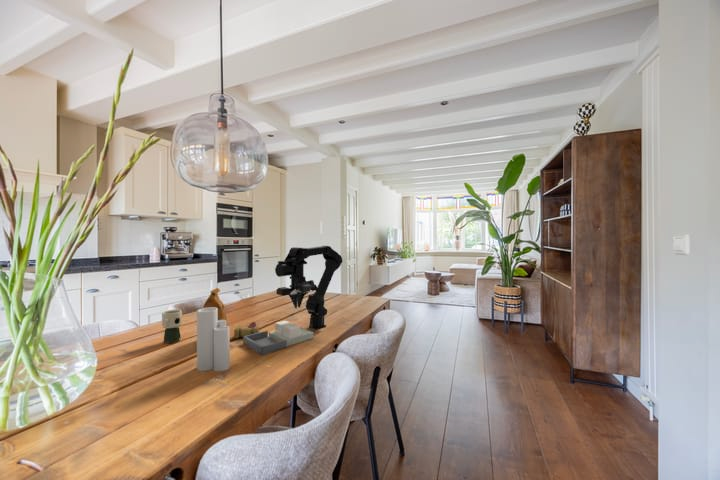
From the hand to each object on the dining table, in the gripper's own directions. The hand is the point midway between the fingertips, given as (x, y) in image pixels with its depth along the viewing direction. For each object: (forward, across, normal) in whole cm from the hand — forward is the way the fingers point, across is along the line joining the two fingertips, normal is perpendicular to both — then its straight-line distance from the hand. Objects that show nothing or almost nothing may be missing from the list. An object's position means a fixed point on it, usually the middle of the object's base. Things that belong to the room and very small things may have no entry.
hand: (297, 307), depth 136 cm
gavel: (+13, -14, +19) cm, 27 cm away
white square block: (+10, -8, 0) cm, 12 cm away
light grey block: (+10, -8, -8) cm, 14 cm away
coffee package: (+12, -30, +18) cm, 38 cm away
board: (+12, -6, -4) cm, 14 cm away
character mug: (+12, -44, +28) cm, 54 cm away
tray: (+12, -18, -4) cm, 22 cm away
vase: (+12, -40, -10) cm, 42 cm away
